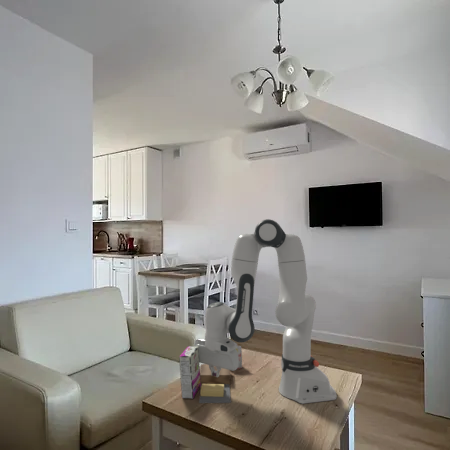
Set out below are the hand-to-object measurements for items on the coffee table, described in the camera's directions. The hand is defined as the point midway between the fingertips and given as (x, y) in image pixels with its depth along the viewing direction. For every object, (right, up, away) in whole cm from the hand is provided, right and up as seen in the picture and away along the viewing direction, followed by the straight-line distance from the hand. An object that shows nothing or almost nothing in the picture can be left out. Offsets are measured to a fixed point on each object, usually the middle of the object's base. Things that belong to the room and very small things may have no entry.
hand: (215, 376), depth 134 cm
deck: (0, -5, +9) cm, 10 cm away
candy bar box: (-9, -5, -3) cm, 11 cm away
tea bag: (+8, -6, +21) cm, 23 cm away
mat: (0, -5, -4) cm, 7 cm away
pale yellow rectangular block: (-1, -3, -4) cm, 5 cm away
